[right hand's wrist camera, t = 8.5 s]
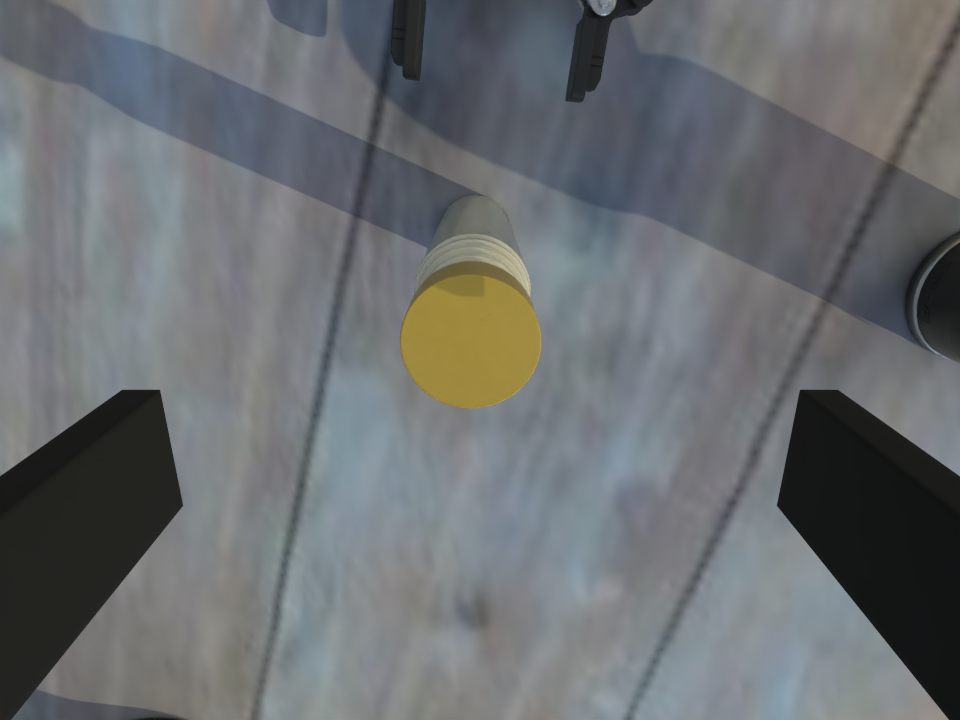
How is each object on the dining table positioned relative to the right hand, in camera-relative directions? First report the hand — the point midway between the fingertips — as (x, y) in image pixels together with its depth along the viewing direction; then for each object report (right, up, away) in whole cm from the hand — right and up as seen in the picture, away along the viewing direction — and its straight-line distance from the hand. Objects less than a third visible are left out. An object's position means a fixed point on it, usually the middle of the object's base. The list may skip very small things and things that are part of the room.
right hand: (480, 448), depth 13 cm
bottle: (0, +10, +27) cm, 29 cm away
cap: (0, +2, +6) cm, 6 cm away
